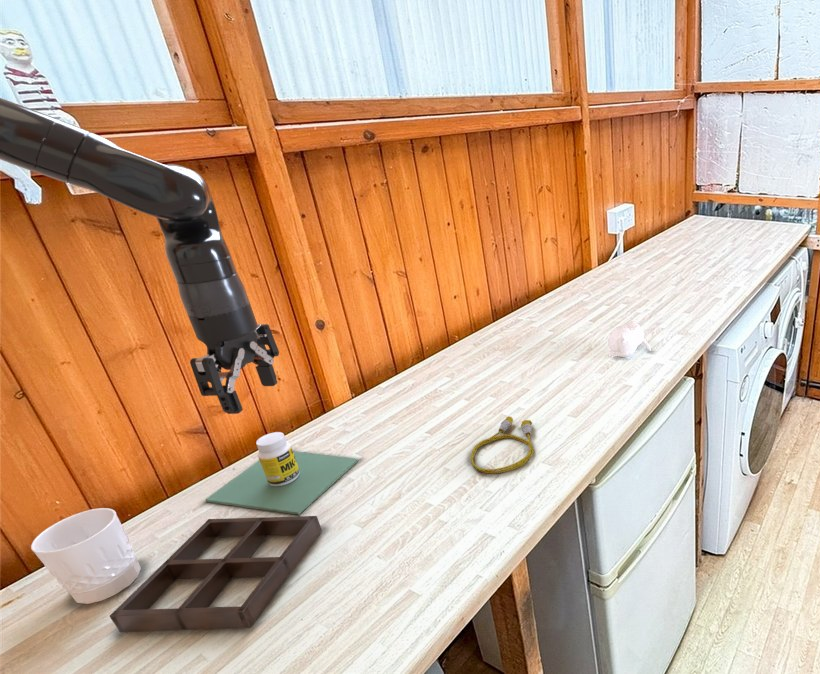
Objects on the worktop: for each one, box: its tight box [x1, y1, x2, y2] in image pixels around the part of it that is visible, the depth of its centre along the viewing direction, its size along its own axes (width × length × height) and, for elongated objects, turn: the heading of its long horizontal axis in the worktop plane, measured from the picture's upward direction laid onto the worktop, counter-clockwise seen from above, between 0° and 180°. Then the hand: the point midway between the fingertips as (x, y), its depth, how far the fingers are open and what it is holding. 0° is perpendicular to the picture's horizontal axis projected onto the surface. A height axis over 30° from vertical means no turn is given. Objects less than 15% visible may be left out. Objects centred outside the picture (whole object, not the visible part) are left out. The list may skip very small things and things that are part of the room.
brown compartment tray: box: [109, 515, 323, 633], centre depth 72 cm, size 16×16×3 cm
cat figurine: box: [607, 320, 652, 358], centre depth 134 cm, size 9×11×12 cm
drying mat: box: [205, 450, 359, 516], centre depth 91 cm, size 18×14×1 cm
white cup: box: [30, 507, 142, 605], centre depth 70 cm, size 8×8×10 cm
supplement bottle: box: [255, 431, 300, 486], centre depth 90 cm, size 5×5×8 cm
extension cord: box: [470, 415, 534, 474], centre depth 98 cm, size 12×16×2 cm
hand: (253, 398), depth 84 cm, fingers open, 8 cm apart
